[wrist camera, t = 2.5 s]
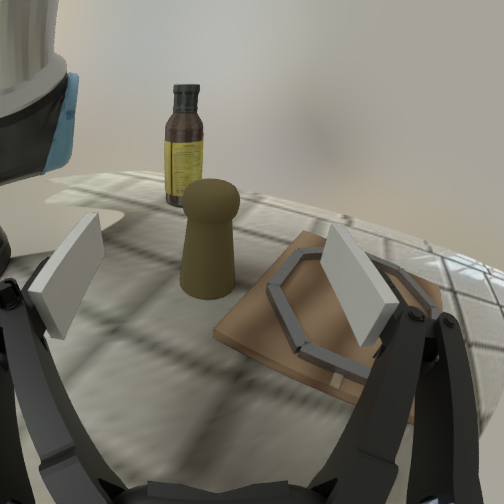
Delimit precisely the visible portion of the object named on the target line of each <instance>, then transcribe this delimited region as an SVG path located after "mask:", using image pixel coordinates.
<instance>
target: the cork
mask: <svg viewBox="0 0 504 504" xmlns="http://www.w3.org/2000/svg"><path fill="white" fill-rule="evenodd" d="M239 205H240V196H239V193H238V191H237V189H236V187H235V186H234V185H232V184H231V183H229V182H226V181H224V180H219V179H200V180H196V181H194V182H192V183H190V184H189V185H188V186H187V188H186V189H185V191H184V193H183V210H184V213H185V214H186V215H187V217H188V221H187V228H186V235H185V242H184V249H183V257H182V264H181V273H180V285H181V287H182V289H183V290H184V291H185V292H186V293H187V294H189V295H190V296H193V297H195V298H198V299H204V300H212V299H218V298H221V297H224V296H226V295H227V294H229V293H230V292H231V291H232V290H233V288H234V285H235V269H234V250H233V229H232V219H233V218H234V217H235V216H236V214H237V212H238V209H239Z"/></svg>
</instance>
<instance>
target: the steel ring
mask: <svg viewBox="0 0 504 504" xmlns="http://www.w3.org/2000/svg"><path fill="white" fill-rule="evenodd" d="M323 250H324V247H312V248H298V249H297V250H296V249H295V250H294V251H293V253H292V254H291V255H290V256H289V257H288V259H287V260H286V261H285V262H284V263H283V265H282V266H281V267H280V268H279V269H278V270H277V272H276V273H275V274H274V275H273V276H272V278H271V279H270V280H269V281H268V282H267V287H266V292H265V293H266V295H267V297H268V299H269V301H270V304H271V306H272V308H273V310H274V312H275V315H276V317H277V319H278V321H279V323H280V325H281V328H282V330H283V332H284V334H285V336H286V338H287V341H288V343H289V345H290V347H291V349H292V351H293V354H296V353H299V354H298V356H297V357H298V358H300V359H302V360H304V361H307V362H309V363H311V364H313V365H316V366H318V367H320V368H323V369H325V370H327V371H330V372H332V373H335V372H336V373H338V374H341V375H343V377H344V378H346V379H349V380H351V381H354V382H356V383H359V384H361V385H364V386H365V384H366V381H367V379H368V376H369V374H370V371H371V368H370V367H368V366H365V365H363V364H360V363H358V362H355V361H353V360H350V359H348V358H346V357H343V356H341V355H338V354H336V353H334V352H331V351H329V350H327V349H324V348H322V347H320V346H318V345H315V344H313V343H311V342H309V341H308V340H307V338H306V336H305V334H304V332H303V330H302V328H301V326H300V324H299V322H298V320H297V318H296V316H295V314H294V313H293V311H292V309H291V307H290V305H289V303H288V301H287V299H286V297H285V295H284V293H283V291H282V290H281V288H282V287H283V285H284V284H285V283H286V281H287V280H288V279H289V277H290V276H291V275H292V273H293V272H294V271H295V269H296V268H297V267H298V265H299V264H300V262H301V261H304V260H317V259H321V257H322V254H323ZM365 253H366V252H365ZM366 255H367V256H368V258H369V259H370V260H371V262H372V263H373V264H374V266H375V267H376V269H381V270H382V271H384V272H386V273H388V274H391V275H393V276H395V277H396V278H397V279H398V280H399V281H400V282H401V283H402V284H403V285H404V286H405V288H406V289H407V290H408V291H409V292H410V293H411V294H412V296H413V297H414V298H415V299H416V300H417V301H418V302H419V304H420V305H421V306H422V307H423V308H424V309H425V311H426V312H427V318H430V319H435V320H436V319H437V318H438V316H439V309H438V308H437V307H438V306H437V305H436V304H435V303H434V301H433V300H432V299H431V298H430V297H429V296H428V295H427V294H426V293H425V291H424V290H423V289H422V288H421V287H420V286H419V285H418V284H417V283H416V282H415V281H414V280H413V278H412V277H411V276H410V275H409V274H408V273H407V272H406V271H405V270H404V269H403V268H402V269H400V266H398V265H395V264H393V263H390V262H388V261H386V260H383V259H381V258H378V257H376V256H374V255H371V254H369V253H366ZM438 359H439V356H438Z"/></svg>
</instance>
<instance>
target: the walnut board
mask: <svg viewBox="0 0 504 504" xmlns="http://www.w3.org/2000/svg"><path fill="white" fill-rule="evenodd" d="M326 240H327V239H325V238H323V237H320V236H317V235H315V234H312V233H309V232H307V231H304V230H303V231H302V232H301V234H300V235H299V236H298V237H297V238H296V239H295V240H294V241H293V243H292V244H291V245H290V246H289V247H288V248H287V249H286V250H285V252H284V253H283V254H282V255H281V256H280V257H279V258H278V259H277V260H276V262H275V263H274V264H273V265H272V266H271V267H270V268H269V269H268V270H267V272H266V273H265V274H264V275H263V276H262V277H261V278H260V279H259V280H258V282H257V283H256V284H255V285H254V286H253V287H252V288H251V289H250V290H249V291H248V292H247V294H246V295H245V296H244V297H243V298H242V299H241V300H240V301H239V302H238V303H237V304H236V305H235V307H234V308H233V309H232V310H231V311H230V312H229V313H228V314H227V315H226V316H225V317H224V318H223V319H222V321H221V322H220V323H219V324H218V325H217V326H216V327H215V328H214V333H213V338H215V339H217V340H219V341H220V342H222V343H224V344H226V345H228V346H230V347H231V348H233V349H235V350H237V351H239V352H241V353H243V354H244V355H246V356H248V357H250V358H252V359H254V360H256V361H258V362H260V363H262V364H264V365H266V366H268V367H270V368H272V369H274V370H276V371H278V372H280V373H282V374H284V375H287V376H289V377H291V378H293V379H295V380H297V381H300V382H302V383H304V384H306V385H308V386H311V387H313V388H315V389H318V390H320V391H322V392H325V393H327V394H329V395H332V396H334V397H337V398H339V399H342V400H344V401H347V402H349V403H352V404H355V405H356V404H357V402H358V400H359V398H360V395H361V393H362V391H363V388H364V385H361V384H359V383H356V382H354V381H351V380H349V379H346V378H344V377H343V375H341V374H338V373H336V372H335V373H332V372H330V371H327V370H325V369H323V368H320V367H318V366H316V365H313V364H311V363H309V362H307V361H304V360H302V359H300V358H298V357H297V356H298V354H299V353H296V354H293V351H292V349H291V347H290V345H289V343H288V341H287V338H286V336H285V334H284V332H283V330H282V328H281V325H280V323H279V321H278V319H277V317H276V315H275V312H274V310H273V308H272V306H271V304H270V301H269V299H268V297H267V295H266V293H265V292H266V287H267V282H268V281H269V280H270V279H271V278H272V276H273V275H274V274H275V273H276V272H277V270H278V269H279V268H280V267H281V266H282V265H283V263H284V262H285V261H286V260H287V259H288V257H289V256H290V255H291V254H292V253H293V251H294V250H295V249H296V250H297V249H298V248H312V247H325V244H326ZM320 261H321V259H317V260H304V261H301V262H300V264H299V265H298V267H297V268H296V269H295V271H294V272H293V273H292V275H291V276H290V277H289V279H288V280H287V281H286V283H285V284H284V285H283V287H282V288H281V290H282V291H283V293H284V295H285V297H286V299H287V301H288V303H289V305H290V307H291V309H292V311H293V313H294V314H295V316H296V318H297V320H298V322H299V324H300V326H301V328H302V330H303V332H304V334H305V336H306V338H307V340H308V341H309V342H311V343H313V344H315V345H318V346H320V347H322V348H324V349H327V350H329V351H331V352H334V353H336V354H338V355H341V356H343V357H346V358H348V359H350V360H353V361H355V362H358V363H360V364H363V365H365V366H368V367H370V368H372V366H373V363H374V360H375V358H376V357H375V358H372V357H373V356H374V354H375V353H376V352H377V350H378V349H379V347H380V346H381V344H382V341H381V339H380V337H379V338H378V339H377V341H376V343H375V344H374V345H373V346H366V347H360V346H359V343H358V341H357V339H356V337H355V335H354V332H353V330H352V328H351V326H350V324H349V321H348V319H347V317H346V315H345V313H344V311H343V308H342V306H341V304H340V302H339V300H338V298H337V296H336V294H335V292H334V290H333V288H332V285H331V283H330V281H329V279H328V277H327V275H326V273H325V271H324V269H323V267H322V265H321V263H320ZM383 272H384V271H383ZM384 273H386V272H384ZM407 273H408V274H409V275H410V276H411V277H412V278H413V280H414V281H415V282H416V283H417V284H418V285H419V286H420V287H421V288H422V289H423V290H424V291H425V293H426V294H427V295H428V296H429V297H430V298H431V299H432V300H433V301H434V303H435V304H436V305H437V306H438V307H437V308H438V309H439V315H440V313H443V312H442V302H441V294H440V286H438V285H436V284H434V283H431V282H429V281H427V280H425V279H422V278H420V277H418V276H415V275H413V274H411V273H409V272H407ZM386 274H387V275H388V277H389V278H390V279H391V281H392V283H393V284H394V285H395V286H396V288H397V289H398V291H399V292H400V294H401V295H402V297H403V298H404V300H405V301H406V303H407V304H408V306H414V307H417V308H419V309H420V310H421V311H422V312H423V313H424V314H425V316H426V317H427V312H426V311H425V309H424V308H423V307H422V306H421V305H420V304H419V302H418V301H417V300H416V299H415V298H414V297H413V296H412V294H411V293H410V292H409V291H408V290H407V289H406V288H405V286H404V285H403V284H402V283H401V282H400V281H399V280H398V279H397V278H396V277H395V276H393V275H391V274H388V273H386ZM414 405H415V395H414V399H413V403H412V407H411V411H410V414H409V418H408V421H407V423H410V424H414Z"/></svg>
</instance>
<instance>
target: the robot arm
mask: <svg viewBox="0 0 504 504" xmlns="http://www.w3.org/2000/svg"><path fill="white" fill-rule="evenodd" d="M58 1H59V0H0V186H2V185H5V184H9V183H12V182H16V181H19V180H23V179H27V178H30V177H34V176H38V175H44V174H45V173H46V172H49V171H52V170H55V169H58V168H62V167H63V166H65V165H66V164H67V163H68V162H69V160H70V158H71V155H72V147H73V135H74V122H75V109H76V102H77V93H78V83H79V76H78V75H77V74H73V73H68V74H67V64H66V61H65V59H64V58H63V57H62V56H60V55H58V54H56V53H55V52H54V37H55V25H56V15H57V8H58ZM10 256H11V248H10V245H9V242H8V239H7V236H6V234H5V232H4V231H3V229H2V228H1V226H0V275H1V273H2V272H3V271H4V269H5V268H6V266H7V264H8V262H9V259H10ZM104 256H105V250H104V245H103V239H102V234H101V228H100V222H99V215H98V213H86V214H85V215H84V216H83V218H82V219H81V220H80V221H79V222H78V223H77V224H76V226H75V227H74V228H73V229H72V230H71V232H70V233H69V234H68V235H67V237H66V238H65V239H64V240H63V242H62V243H61V244H60V245H59V247H58V248H57V249H56V251H55V252H54V253H53V255H52V256H51V257H47V258H46V259H45V260H43V261H42V262H41V263H40V264H39V265H38V267H37V268H36V271H34V272H33V274H32V277H30V278H29V280H28V281H27V282H26V284H25V285H24V287H23V288H22V290H21V291H20V289H19V286H18V284H17V282H16V280H15V279H13V278H8V279H5V280H3V281H1V282H0V504H35V499H34V495H33V492H32V488H31V484H30V481H29V478H28V474H27V470H26V466H25V462H24V458H23V453H22V448H21V443H20V437H19V431H18V424H17V416H16V407H15V394H14V388H15V392H16V395H17V399H18V402H19V405H20V408H21V411H22V414H23V417H24V420H25V423H26V426H27V428H28V431H29V434H30V436H31V439H32V441H33V443H34V446H35V448H36V450H37V453H38V455H39V457H40V460H41V464H40V465H39V472H40V475H41V477H42V479H43V481H44V483H45V485H46V487H47V489H48V491H49V492H50V494H51V496H52V498H53V499H54V501H55V503H56V504H385V502H386V500H387V498H388V496H389V493H390V491H391V489H392V487H393V484H394V482H395V479H396V477H397V474H398V466H397V465H396V464H395V457H396V454H397V452H398V449H399V446H400V443H401V440H402V437H403V434H404V431H405V428H406V425H407V421H408V418H409V414H410V411H411V407H412V403H413V399H414V395H415V405H414V434H413V447H412V458H411V467H410V474H409V481H408V488H407V500H406V504H484V503H483V497H482V491H481V486H480V481H479V476H478V472H479V470H478V469H479V441H478V424H477V413H476V404H475V396H474V389H473V383H472V377H471V372H470V367H469V362H468V357H467V353H466V348H465V344H464V340H463V336H462V333H461V329H460V325H459V323H458V321H457V320H456V318H455V317H454V316H453V315H451V314H449V313H445V312H443V313H440V315H439V316H438V318H437V319H436V320H435V319H430V318H427V317H426V316H425V314H424V313H423V312H422V311H421V310H420V309H419V308H417V307H414V306H408V304H407V303H406V301H405V300H404V298H403V297H402V295H401V294H400V292H399V291H398V289H397V288H396V286H395V285H394V284H393V283H392V281H391V279H390V278H389V277H388V275H387V274H386V273H384V272H383V271H382V270H381V269H376V267H375V266H374V264H373V263H372V262H371V260H370V259H369V258H368V256H367V255H366V253H365V252H364V251H363V249H362V248H361V247H360V245H359V244H358V243H357V241H356V240H355V239H354V237H353V236H352V235H351V234H350V232H349V231H348V230H347V228H346V227H345V226H344V225H343V224H338V223H331V226H330V229H329V233H328V237H327V240H326V244H325V247H324V250H323V254H322V257H321V261H320V263H321V265H322V267H323V269H324V271H325V273H326V275H327V277H328V279H329V281H330V283H331V285H332V288H333V290H334V292H335V294H336V296H337V298H338V300H339V302H340V304H341V306H342V308H343V311H344V313H345V315H346V317H347V319H348V321H349V324H350V326H351V328H352V330H353V332H354V335H355V337H356V339H357V341H358V343H359V346H360V347H366V346H373V345H374V344H375V343H376V341H377V339H378V338H379V337H380V339H381V341H382V344H381V346H380V347H379V349H378V350H377V352H376V353H375V354H374V356H373V357H372V358H375V357H376V358H375V360H374V363H373V366H372V368H371V371H370V374H369V376H368V379H367V381H366V384H365V386H364V388H363V391H362V393H361V395H360V398H359V400H358V402H357V404H356V407H355V409H354V411H353V413H352V415H351V417H350V419H349V421H348V423H347V425H346V427H345V429H344V431H343V433H342V435H341V437H340V439H339V441H338V443H337V445H336V447H335V448H334V450H333V452H332V454H331V456H330V457H329V459H328V461H327V462H326V464H325V466H324V467H323V468H322V470H321V471H320V472H319V473H318V474H317V475H316V476H315V477H314V479H313V480H312V481H311V483H310V484H309V486H308V487H307V488H304V487H301V486H296V485H289V484H288V480H287V481H280V482H272V483H262V484H253V485H250V486H246V487H243V488H239V489H235V490H232V491H228V492H223V493H213V492H208V491H204V490H200V489H196V488H192V487H189V486H185V485H181V484H170V483H160V482H152V481H148V482H147V485H143V486H138V487H134V488H131V489H128V488H127V487H126V486H125V484H124V483H123V482H122V481H121V479H120V478H119V477H118V476H117V475H116V474H115V473H114V472H113V471H112V470H111V469H110V468H109V467H108V465H107V464H106V462H105V461H104V459H103V458H102V456H101V455H100V453H99V452H98V450H97V449H96V447H95V445H94V444H93V442H92V440H91V439H90V437H89V435H88V434H87V432H86V430H85V428H84V426H83V425H82V423H81V421H80V419H79V417H78V415H77V413H76V411H75V409H74V407H73V405H72V403H71V401H70V399H69V397H68V395H67V393H66V390H65V388H64V386H63V384H62V381H61V379H60V376H59V374H58V371H57V369H56V366H55V364H54V361H53V358H52V356H51V353H50V350H49V347H48V344H47V341H46V339H45V337H44V336H43V335H44V332H45V330H46V329H47V331H48V333H49V335H50V336H51V338H56V339H61V340H64V339H65V337H66V334H67V332H68V330H69V327H70V325H71V323H72V320H73V318H74V316H75V314H76V311H77V309H78V307H79V305H80V303H81V301H82V298H83V296H84V294H85V292H86V290H87V288H88V286H89V284H90V282H91V280H92V278H93V276H94V274H95V272H96V271H97V269H98V267H99V265H100V263H101V261H102V259H103V258H104ZM438 356H439V359H438Z"/></svg>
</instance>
